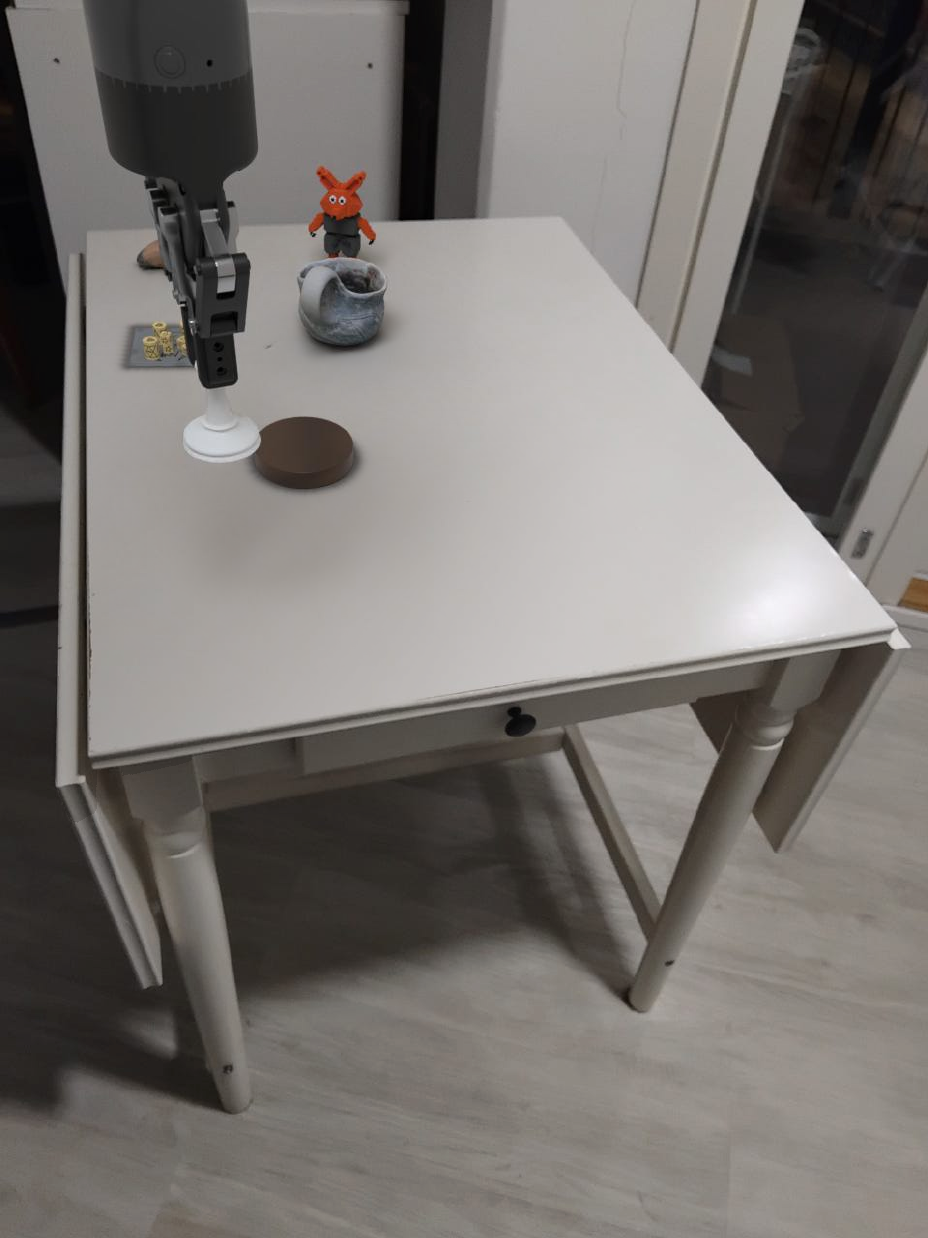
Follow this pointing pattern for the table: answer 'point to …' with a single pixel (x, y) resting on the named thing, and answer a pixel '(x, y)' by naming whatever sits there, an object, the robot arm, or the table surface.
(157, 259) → the brown rounded lump
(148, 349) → the dice set
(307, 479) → the walnut chip
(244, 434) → the chess piece
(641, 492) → the table surface
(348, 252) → the toy animal
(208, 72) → the robot arm
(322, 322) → the mug
